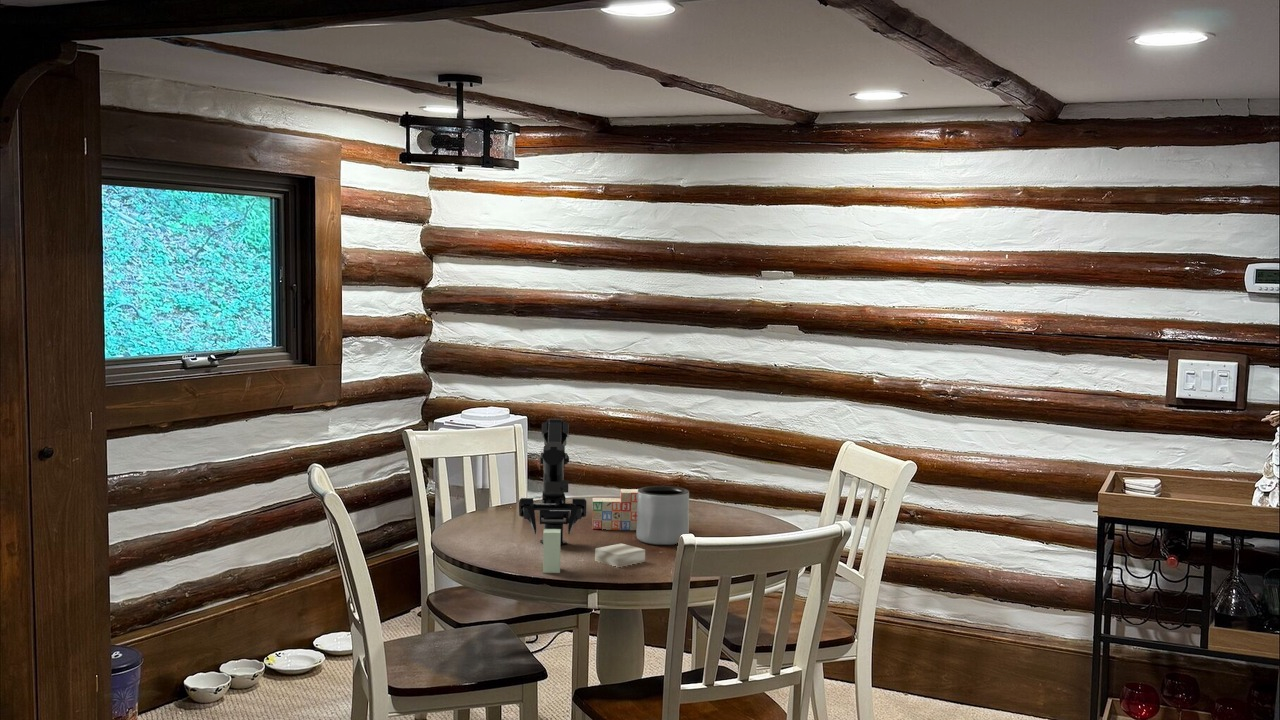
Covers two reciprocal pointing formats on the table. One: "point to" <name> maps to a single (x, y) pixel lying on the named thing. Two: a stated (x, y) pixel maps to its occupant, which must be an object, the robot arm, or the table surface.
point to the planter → (662, 514)
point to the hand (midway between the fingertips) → (552, 533)
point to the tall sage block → (551, 550)
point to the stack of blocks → (616, 511)
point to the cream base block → (619, 555)
